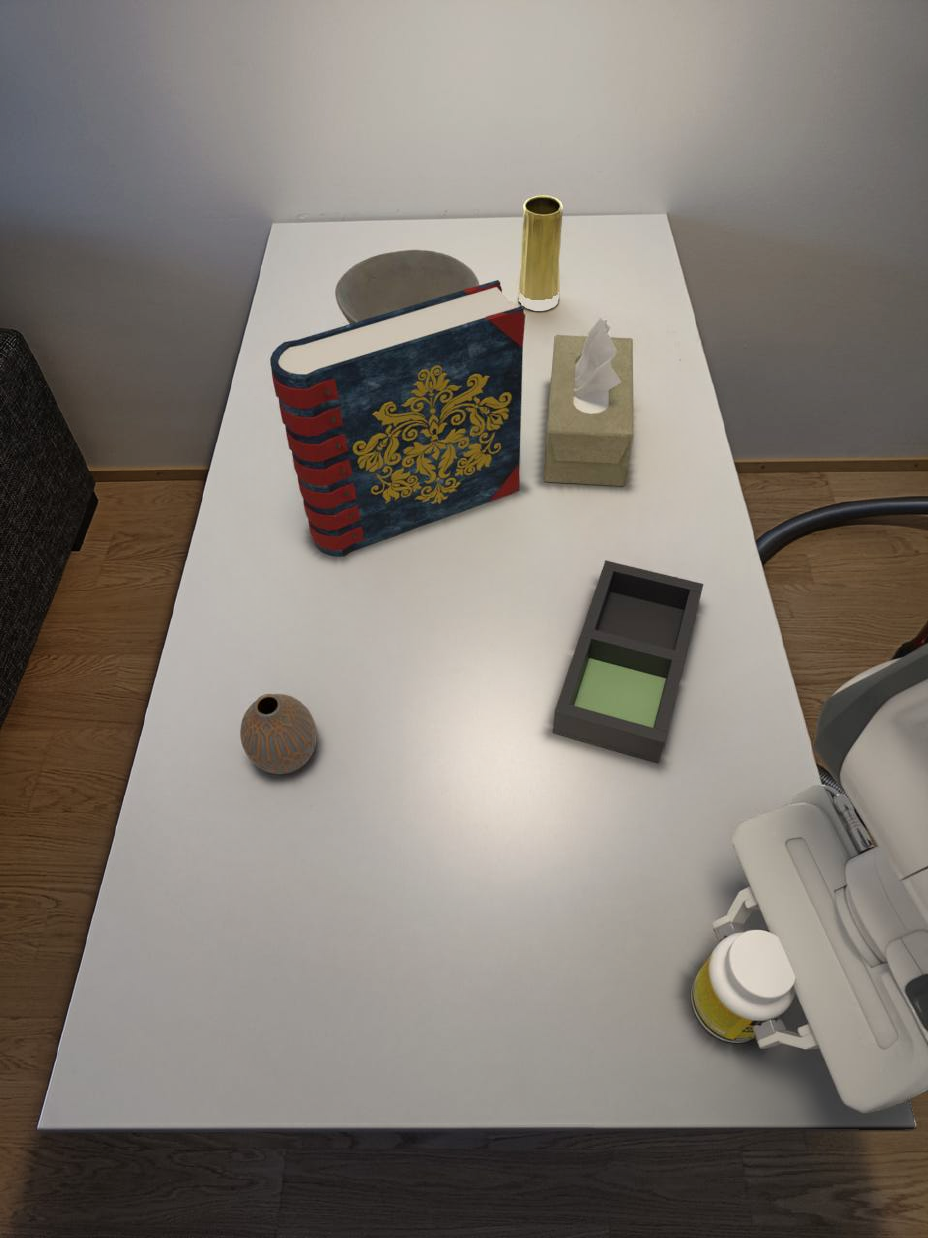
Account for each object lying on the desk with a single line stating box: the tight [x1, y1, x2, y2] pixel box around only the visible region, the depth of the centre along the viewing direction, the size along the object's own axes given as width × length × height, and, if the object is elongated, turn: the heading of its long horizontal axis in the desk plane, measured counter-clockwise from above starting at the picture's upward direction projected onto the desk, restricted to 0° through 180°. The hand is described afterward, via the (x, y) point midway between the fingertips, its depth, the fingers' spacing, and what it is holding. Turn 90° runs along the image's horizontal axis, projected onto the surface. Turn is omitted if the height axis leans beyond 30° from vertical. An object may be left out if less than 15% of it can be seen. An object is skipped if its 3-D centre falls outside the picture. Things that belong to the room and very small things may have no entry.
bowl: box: [334, 249, 480, 324], centre depth 118 cm, size 19×19×10 cm
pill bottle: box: [690, 929, 796, 1044], centre depth 66 cm, size 6×6×11 cm
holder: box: [552, 560, 704, 764], centre depth 89 cm, size 20×10×4 cm, turn 161°
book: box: [269, 279, 526, 557], centre depth 94 cm, size 25×7×25 cm, turn 115°
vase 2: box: [517, 195, 564, 300], centre depth 123 cm, size 6×6×14 cm
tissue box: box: [543, 317, 634, 487], centre depth 105 cm, size 19×10×16 cm, turn 174°
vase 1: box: [239, 693, 318, 775], centre depth 82 cm, size 7×7×9 cm
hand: (738, 984), depth 66 cm, fingers closed on pill bottle, 6 cm apart
